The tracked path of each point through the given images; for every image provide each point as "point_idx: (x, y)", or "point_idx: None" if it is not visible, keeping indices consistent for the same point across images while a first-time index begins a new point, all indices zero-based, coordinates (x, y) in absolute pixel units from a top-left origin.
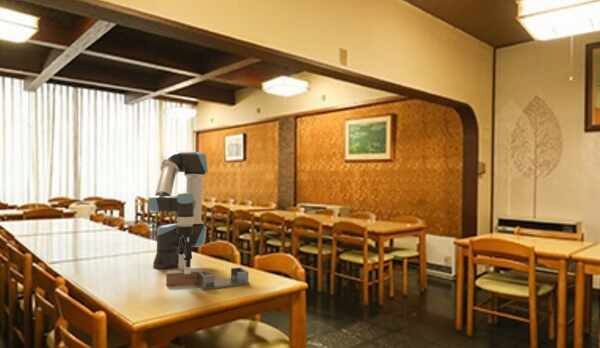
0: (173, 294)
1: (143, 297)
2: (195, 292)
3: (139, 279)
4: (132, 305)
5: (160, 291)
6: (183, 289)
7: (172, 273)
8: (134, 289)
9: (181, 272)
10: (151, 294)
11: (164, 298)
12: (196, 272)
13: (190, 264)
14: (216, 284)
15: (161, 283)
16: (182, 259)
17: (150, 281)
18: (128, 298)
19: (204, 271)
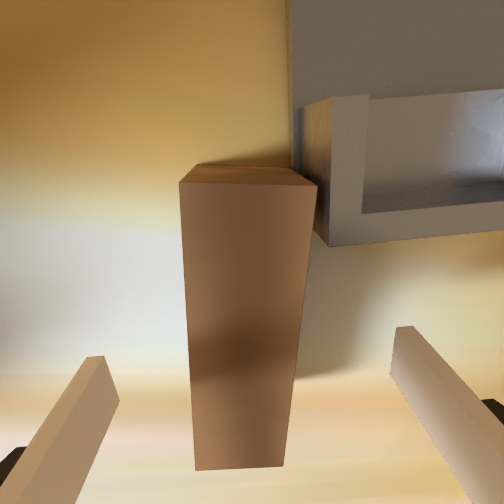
0: None
1: (407, 457)
2: (477, 245)
3: None
4: None
5: (348, 406)
6: (370, 305)
7: (286, 436)
8: (260, 491)
9: (281, 381)
10: (379, 436)
11: (477, 391)
12: (307, 251)
13: (489, 412)
14: (460, 53)
15: (181, 405)
16: (56, 474)
17: (120, 449)
18: (388, 495)
19: (362, 166)
